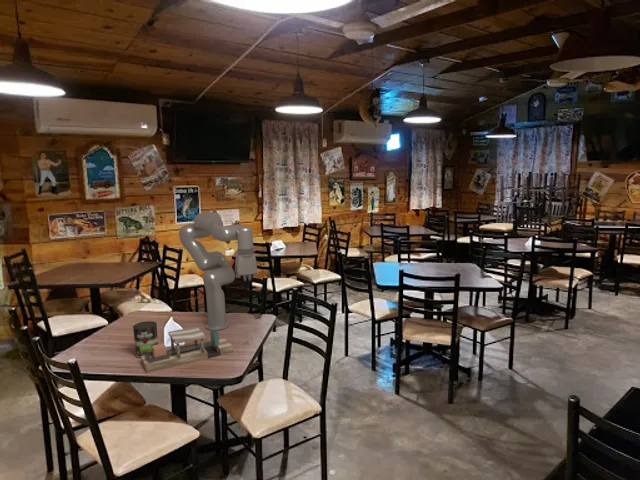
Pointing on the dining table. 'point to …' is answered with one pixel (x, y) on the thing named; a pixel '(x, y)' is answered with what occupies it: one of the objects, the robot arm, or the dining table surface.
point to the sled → (186, 348)
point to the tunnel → (190, 355)
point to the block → (159, 350)
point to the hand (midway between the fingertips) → (246, 287)
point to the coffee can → (145, 337)
